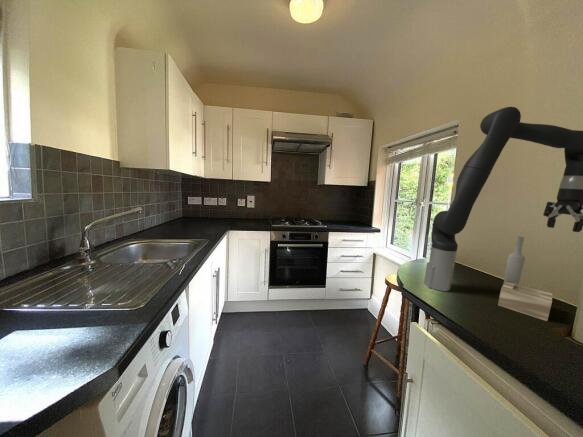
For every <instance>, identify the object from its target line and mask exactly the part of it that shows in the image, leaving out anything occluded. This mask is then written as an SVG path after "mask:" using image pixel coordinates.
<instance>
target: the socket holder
mask: <svg viewBox="0 0 583 437" xmlns="http://www.w3.org/2000/svg"><path fill="white" fill-rule="evenodd" d="M503 284H504V285H503ZM503 284H502V286H501V287H500V288H501V289H500V293H499V298H498V303H497V306H499V307H502V308H506V309H508V310H511V311H514V312H517V313H521V314H524V315H527V316H530V317H533V318H535V319H539V320H542V321H546V322H548V319H549V316H550V311H551V307H552V303H553V294H554V292H552V291H549V290H544V289H542V288H538V287H537V288H536V287H533V286H530V285H529V286H528V285H525V284H521V283H519V284H518V283H514V282H510V281H506V282H505V283H504V282H503Z"/></svg>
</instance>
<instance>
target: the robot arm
mask: <svg viewBox="0 0 583 437" xmlns="http://www.w3.org/2000/svg"><path fill="white" fill-rule="evenodd" d="M521 117H522V115H521V111H520V109H518V108H517V107H515V106H506V107H503V108H499V109H498V110H495V111H492V112H491V113H489V114H487V115H486V116H485V117H483V118H482V120H481V122H480V130H481V133H483V134H484V135H486V136H485V138H484V140H483V142H482V143H481V145H479V147H478V148H477V149H476V150H475V151H474V153H472V155H471V156H469V158H468V159H467V160H466V161H465V164H464V165H463V167H462V169H461V171H460V173H459V175H458V177H457V180H456V184H455V185H456V188H455V193H454V198H453V201H452V203H451V204H450V206H449V207H448V209H447V210H442V211H439V212H438V213H436V215H434V218H433V221H432V222H433V223H432V229H431V236H430V237H431V247H430V254H429V259H428V260H429V261H428V262H427V263H426V267H425V273H424V281H423V283H424V284H425V285H426V286H427V287H428V288H429V289H433V290H437V291H440V292H441V291H442V292H450V291H451V287H452V281H453V274H454V270H455V269H454V268H455V264H456V263H455V262H456V259H457V253H458V252H457V251H458V247H459V245H458V243H457V241H456V235H457V234H459V233H461V232H462V231H464V229H465V227H466V225H467V222H468V221H469V220H468V219H469V218H470V214H471V211H472V209H473V207H474V204H475V203H476V201H477V199H478V197H479V195H480V194H481V192H482V191H483V190H482V189H483V188H484V186H485V184H486V182H487V180H488V179H489V177H490V175H491V173H492V171H493V168H494V167H495V164H496V163H497V161H498V159H499V157H500V156H501V154H502V151H503V150H504V148H505V146H506V145H507V143H508V142H509V140H510V139H515V140H521V141H527V142H532V143H535V144H538V145H543V146H546V147H551V148H554V149H564V163H565V169H564V172H563V175H562V178H561V181H560V184H559V188H558V192H557V196H556V202H554V201H548V202H546V204H545V208H544V211H543V216H544V217H547V223H546V226H547V228H552V229H554V228H555V225H556V220H557V218H558V217H560V216H561V215H569V216H570V215H571V217H573V218H574V220H575V221H574V223H573V226H572V227H573V228H572V232H574V233H580V232H581V231H583V212H582V211H583V130H575V129H571V128H570V129H569V128H566V127H563V126H562V127H561V126H558V125H552V124H545V123H529V122H521Z"/></svg>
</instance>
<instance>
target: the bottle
mask: <svg viewBox="0 0 583 437" xmlns="http://www.w3.org/2000/svg"><path fill="white" fill-rule="evenodd" d="M524 241H525V237H524V236H520V235H519V236H517V238H516V242H515V248H514V251H513V252H512V253H510V254H508V257H507V263H506V268H505V274H504V279H503V283H502V286H503V285H504V283H505V282H506V281H510V282H514V283H518V284H520V280H521V276H522V272H523V268H524V264H525V261H526V258H525V256H524V255H523V254H522V249H523V243H524Z"/></svg>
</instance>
